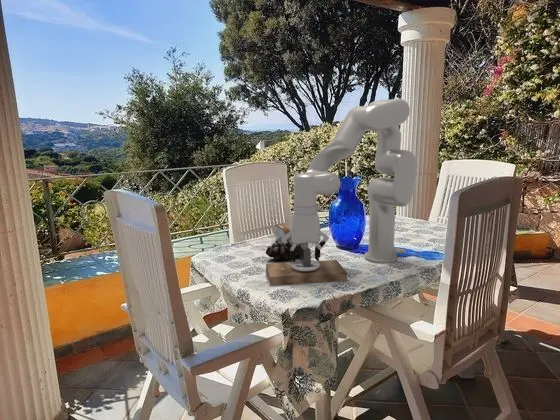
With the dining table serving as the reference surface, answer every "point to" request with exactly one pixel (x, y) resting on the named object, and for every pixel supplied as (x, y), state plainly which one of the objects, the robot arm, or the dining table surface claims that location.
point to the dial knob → (305, 261)
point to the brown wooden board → (305, 273)
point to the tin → (280, 231)
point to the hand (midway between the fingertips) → (305, 259)
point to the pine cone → (282, 251)
